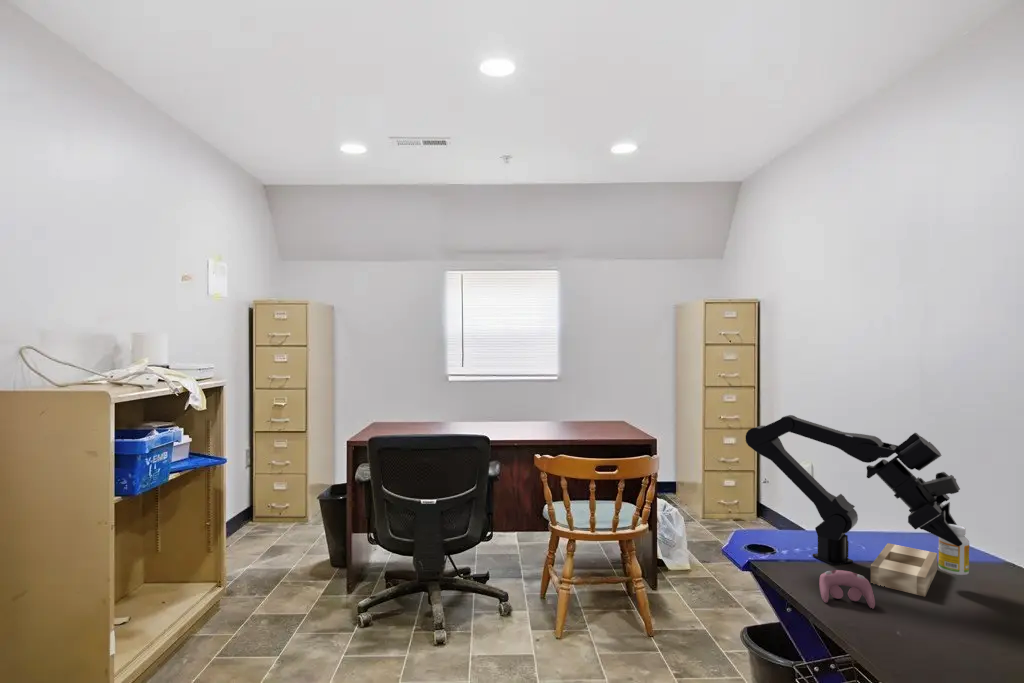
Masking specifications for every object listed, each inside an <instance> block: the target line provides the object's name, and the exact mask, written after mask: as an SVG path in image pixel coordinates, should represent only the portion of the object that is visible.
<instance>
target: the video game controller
mask: <svg viewBox="0 0 1024 683" xmlns="http://www.w3.org/2000/svg"><path fill="white" fill-rule="evenodd" d="M818 583H819V585H818V586H819V593H820V596H821V600H822V601H823V602H824V603H828V602H829V598H830V596H831V597H832V598H833V599H836V600H837V599H838V600H839V599H842V598H843V597H844V591H843V589H842V588H841V587H840V586H845V587H849V590H848V591H847V597H848V599H849V600H850V601H852V602H858V601H859V600H860V599H861V597H862V596H863V597H864V598H865V601H866V603H867V605H868V607H869V608H870V609H871V608H872V609H871V610H873V609H875V608H876V600H875V599H876V598H875V595H874V591H873V587H872V585H871V582H870V581H869V580H868V578H866V577H865V576H864V575H861V574H858V573H855V572H852V571H848V570H842V569H835V570H834V569H833V570H826V571H825V572H823V573H821V574H820V576H819V581H818Z"/></svg>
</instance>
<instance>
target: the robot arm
mask: <svg viewBox="0 0 1024 683" xmlns="http://www.w3.org/2000/svg"><path fill="white" fill-rule="evenodd" d="M787 433H791V434H792V433H793V434H795V435H798V436H801V437H804V438H807V439H809V440H812V441H816V442H819V443H823V444H825V445H829V446H831V447H834V448H836V449H839V450H840V451H842V452H844V453H845V454H847V455H848V456H850V457H852V458H854V459H856V460H858V461H859V462H861V463H862V462H863V463H866V464H867V463H868V464H869V463H873V462H876V461H878V459H881V460H879V462H877V463H876V464H874V465H871V464H869V465H867V466H866V468H865V469H866V471H867V472H866V478H867V479H871V478H872V477H873V476H875V475H876V476H878V478H880V480H881V481H883V483H884V484H885V485H886V486H887V487H888V488H890V490H891V491H892V492H893V493H894V494H893V496H894V497H895V498H896V499H897V500H898V499H900V500H901V502H903V503H904V504H905V505H906V506H907V507H908V508H909V510H908V512H909V513H910V514H908V517H907V523H908V524H909V525H910V526H911V527H912V528H913V529H914V530H918V529H920V530H923V531H925V532H928V533H929V534H932V535H934V536H936V537H938V538H939V537H940V538H942V539H944V540H946V541H948V542H950V543H952V544H954V545H956V546H960V545H962V542H961V540H960V539H959V538H958V536H957V535H956V534H955V532H954V531H953V530H952V529H951V527H950V526H949V525H948V524H954V525H958V524H957V523H956V521H955V519H954V518H953V515H952V514H951V513H950V510H951V509H950V508H951V503H950V502H951V501H949V500H950V496H949V495H948V494H951V495H954V494H957V493H959V492H960V490H961V488H960V486H959V484H958V482H957V478H955V477H954V475H952V474H950V475H948V474H947V473H946V472H945V471H940V472H938V473H936V474H935V478H934V479H931V480H928V481H925V480H924V479H923V478H922V477H919V476H918V477H916V476H915V475H913V474H914V473H912V472H911V471H912V470H917V471H920V472H921V470H923V469H925V468H926V467H927V466H928V465H930V464H931V463H933V462H935V461H936V460H937V459H939V458H940V457H941V456H942V453H941V452H940V451H939V449H938V448H937V447H936V446H935V445H934V444H933V443H932V442H931V441H928V440H927V439H926V438H925V437H923V436H921V435H920V434H918V432H914V433H912V434H911V435H910V436H909V437H907V438H906V439H905V440H904V441H903V442H901V443H900V444H899V445H897V444H892V443H888V442H884V441H883V440H882V439H881V438H880V437H877V436H875V435H869V434H865V433H864V434H863V433H854V432H848V431H847V432H845V431H842V430H838V429H835V428H832V427H828V426H825V425H822V424H819V423H817V422H812V421H810V420H806V419H802V418H799V417H797V416H795V415H791V414H789V415H784V416H782V417H781V418H779V419H777V420H776V421H774V422H771V423H769V424H767V425H759V426H756V427H751V428H749V429H748V430H747V431H746V433H745V442H746V444H747V446H748V447H750V448H751V450H753V451H755V452H756V453H757V454H758V455H760V456H762V457H764V458H766V459H767V460H770V461H771V462H772V463H773V464H774V465H775V466H776V467H777V468H778V469H779V470H780V471H781V472H782V473H783V474H784V475H785V476H786V477H787V478H788V479H789V480H790V481H791V483H793V484H794V485H795V486H796V487H797V488H798V490H800V491H801V492H802V493H803V495H805V496H806V497H807V498H808V499H809V500H810V501H811V502H812V503H813V505H814V507H815V508H816V510H817V513H818V515H819V516H820V518H821V519H822V520H823V521H822V522H820V523H819V524H818V525H816V527H815V531H816V535H817V553H812V557H814V558H815V559H818V560H821V561H823V562H825V563H827V564H830V565H833V566H837V565H838V566H839V565H844V564H851V563H853V562H854V559H851V558H849V540H848V539H849V538H848V537H849V535H848V534H847V533H849V531H851V530H852V528H854V526H856V524H857V523H858V520H859V518H858V517H859V515H858V513H857V510H855V509H854V508H855V507H856V505H854V504H852V503H850V502H849V501H848V500H847V499H846V497H845V496H844V494H842V493H840V494H838V495H837V496H835V495H833V494H832V493H830V492H829V491H827V489H826V488H824V487H823V485H821V484H820V483H819V482H818V480H816V479H815V478H814V476H812V475H811V473H809V471H807V470H806V469H805V468H804V467H803V466H802V465H801V463H799V462H798V461H797V460H796V459H795V458H794V457H793V456H792V455H791V454H790V453H789V452H788V451H787V450H786V448H785V447H784V445H783V443H782V441H781V439H780V437H782V436H783V435H786V434H787ZM894 454H896V455H895V457H893V458H892V459H890V460H886V459H888V458H890V457H891V456H892V455H894ZM910 470H911V471H910ZM947 501H949V502H947ZM945 502H946V503H945ZM943 503H945V504H943ZM964 537H966V535H964Z"/></svg>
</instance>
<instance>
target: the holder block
mask: <svg viewBox="0 0 1024 683" xmlns="http://www.w3.org/2000/svg"><path fill="white" fill-rule="evenodd" d="M937 571H938V552H934V551H928V550H925V549H924V550H923V549H918V548H914V547H908V546H903V545H898V544H895V543H889V542H887V544H886V545H885V546H884V548H883V549H882V550H881V551H880V553H879V554H878V555H877V557H876V558H875V559H874V561H873V562H872V563H871V564H870V584H871V583H873V585H875V584H877V585H876V586H880V585H881V586H880V587H884V586H885V587H884V588H888V589H893V590H897V591H901V592H905V593H909V594H912V595H917V596H921V597H926V596H927V594H928V591H929V589H930V586H931V585H932V583H933V580H934V578H935V576H936V574H937Z"/></svg>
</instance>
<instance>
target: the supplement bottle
mask: <svg viewBox="0 0 1024 683" xmlns="http://www.w3.org/2000/svg"><path fill="white" fill-rule="evenodd" d="M948 525H949V526H950V527H951V529H952V530H953V531H954V532H955V534H956V535H957V536H958V538H959V539H960V540H961V542H962V545H960V546H956V545H954V544H952V543H950V542H948V541H946V540H944V539H942V538H940V537H938V558H937V567H938V568H939V569H940V570H941V571H943V572H946V573H948V574H952V575H958V576H964V575H968V574H970V573H969V572H970V539H969V538H967V537H966V534H967V533H966V527H964V526H962V525H959V524H957V525H954V524H948ZM964 536H965V537H964Z"/></svg>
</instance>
